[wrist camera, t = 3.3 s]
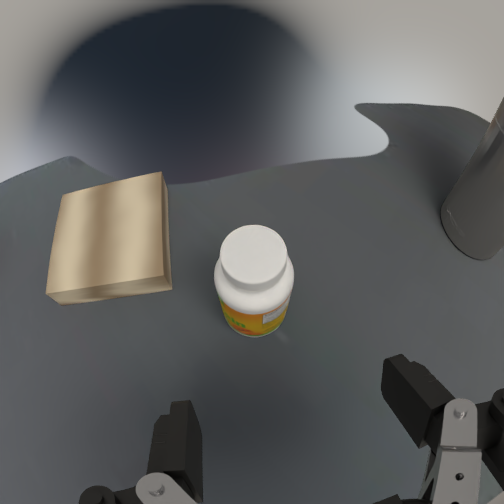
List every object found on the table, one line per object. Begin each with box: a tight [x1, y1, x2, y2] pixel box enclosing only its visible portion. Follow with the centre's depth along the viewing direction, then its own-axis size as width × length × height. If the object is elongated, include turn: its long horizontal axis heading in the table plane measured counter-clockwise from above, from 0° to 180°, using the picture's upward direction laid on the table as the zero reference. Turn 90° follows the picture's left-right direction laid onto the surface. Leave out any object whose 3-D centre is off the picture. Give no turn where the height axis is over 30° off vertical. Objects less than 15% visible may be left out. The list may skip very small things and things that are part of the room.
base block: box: [46, 172, 172, 305], centre depth 29 cm, size 12×12×3 cm
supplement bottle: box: [214, 225, 294, 337], centre depth 23 cm, size 5×5×10 cm
